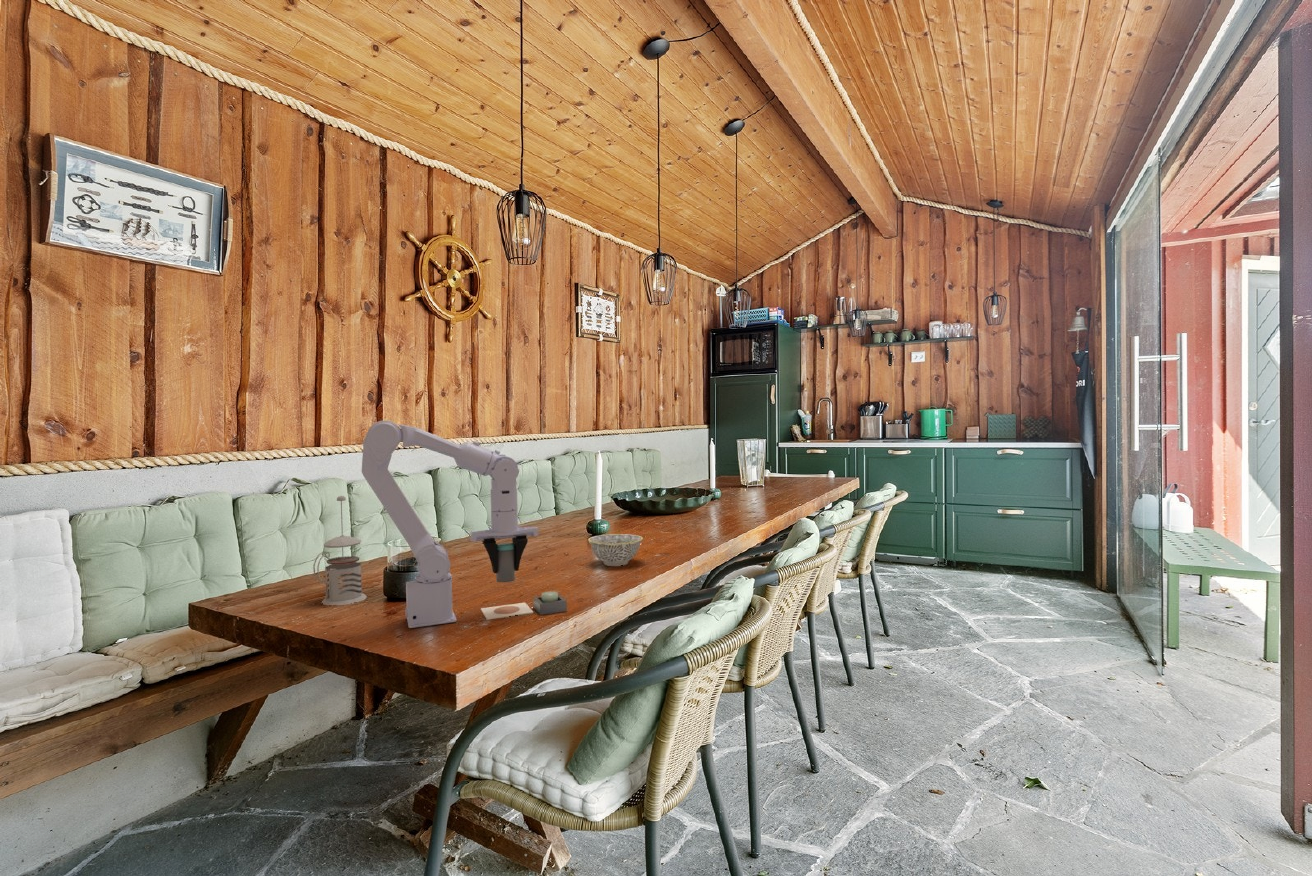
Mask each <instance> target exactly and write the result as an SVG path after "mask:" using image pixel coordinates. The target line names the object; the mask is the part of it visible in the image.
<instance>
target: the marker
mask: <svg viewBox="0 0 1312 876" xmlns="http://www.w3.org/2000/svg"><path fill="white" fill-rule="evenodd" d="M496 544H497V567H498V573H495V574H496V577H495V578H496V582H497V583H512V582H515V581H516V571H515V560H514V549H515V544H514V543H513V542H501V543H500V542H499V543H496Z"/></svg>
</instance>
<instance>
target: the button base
mask: <svg viewBox="0 0 1312 876" xmlns="http://www.w3.org/2000/svg"><path fill="white" fill-rule="evenodd" d="M532 599H533V601H532V602H533V603H532V604H533V606H532V607H533V609H534V610H535V612H537V614H539V616H543V615H551V614H558V613H564V612H565V613H566V612H567V611H568V610H567V607H568V605H567V604H568V603H567V599H566V598H565V597H563V596H562V595H561V594H559V593H558V601H553V602H545V603H542V595H541V596H534V597H533V598H532Z"/></svg>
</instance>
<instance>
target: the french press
mask: <svg viewBox="0 0 1312 876" xmlns="http://www.w3.org/2000/svg"><path fill="white" fill-rule="evenodd" d="M346 500H347V499H346V497H345V496H344V495H338V496H337V497H336V501H337V502H340V518H341V525H343V501H346ZM343 529H344V528H343V527H341V535H340V536H336V537H333V538H331V539H329V540H327V541H326V542H325V543H323V546H324V548H326V549H327V548H328V549H334V548H336V549H337V548H341V551H342V553H341V554H342V556H336V557H332V558H330V555H331V553H330V552H329V551H322V552H320V553H318V555H317V556H316V558H315V560H314V562H313V567H312V568H313V574H314V576H315V579H317V581H319V582H321V583H324V584H325V597H324V599H323V600H322V601H321V604H322V603H323V604H322V605H324V606H329V605H332V606H333V605H337V607H338V606H345V605H351V603H352V604H355V603H354V602H357V603H360V602H362V601H365V600H366V599H367V595H366V594H364V592H363V589H362V585H363V584H362V582H363V581H362V563H361V562H358V561H360V557H359V556H355V555H352V556H351V555H350V556H349V555H347V556H344V548H348V547H353V546H357V545H360V544H361V542H362V540H361V539H359V538H357V537H353V536H350V535H343V534H344V533H343ZM323 553H324V554H323ZM327 554H328V555H327ZM320 555H321V556H320ZM319 557H320V558H319ZM323 557H325V558H327V560H326V564H328V565H326V566H325V568H324V571H325V573H324V574H325V580H324V579H323V578H321V576H320V571H319V570H320V569H319V568H320V567H319V566H320V564H321V563H320V562H321V561H322V559H323ZM318 558H319V559H318ZM328 558H329V559H328ZM317 560H318V563H317ZM316 563H317V568H315V567H316ZM316 569H317V570H316ZM316 571H317V573H316ZM341 587H342V588H341Z"/></svg>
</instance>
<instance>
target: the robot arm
mask: <svg viewBox="0 0 1312 876" xmlns="http://www.w3.org/2000/svg"><path fill="white" fill-rule="evenodd" d="M400 443H402V448H408V447H420V448H424V449H426V450H429V451H433V452H436V453H438V454H441V455H445V456H447V457H450V458H453V459H454V461H455V463H456V464H455V465H457V467H459V468H461V469H465V470H467V471H470V472H472V473H476V474H478V475H481V476H483V477H486V476H490V478H491V479H490V480H491V481H490V483H491V484H490V485H491V489H490V520H491V521H490V522H491V524H490V525H491V529H485V530H479V531H478V530H477V531H471V532H470V533H469V534H470V542H471V543H477V542H482V544H483V546H484V548H485V550H486V552H487V556H488V558H489V560H490V565H491V569H492V572H493V574H496V573H498V567H497V544H498V543H497V540H505V539H512V543H514V544H515V549H514V560H515V572H518V571H519V570H520V564H521V560H522V556H523V553H524V551H525V549H526V546H527V545H528V541H529V539H528V537H539V527H537V526H519V521H518V520H519V519H518V512H519V511H518V508H519V507H518V488H517V483H518V482H517V478H518V476H519V473H520V468H519V466H518V464H517V462H516V461H515V459H514V458H512V457H510V456H507V455H505V454H501V451H499V450H497V449H495V450H491V449H489V448H485V447H483V446H481V445H480V442H478V441H472V442H470V441H465V442H462V443H460V444H458V443H455V442H453V441H451V440H448V439H445V438H442V437H440V436H439V435H436V434H433V433H432V432H431V433H430V432H428V431H427V430H424V429H421V428H418V427H416V426H415V427H414V426H411V425H406V424H402V423H401V424H400V423H398V424H396V423H395V422H394V421H390V420H380V421H377V422H374V423H373V424H371V426H369V428H368V430H367V432H366V434H365V437H364V439H363V441H362V457H361V459H362V460H361V473H362V475H363V477H364V479H365V480H366V483H367V484H368V485H369V486H370V488H371V489H372V491H373V492H374V494H375V496H376V497H377V499H378V501H380V503H381V505H382V506H383V508H384V510H385V511H386V513H387V514H388V515H389V517H390V519H391V520H392V522H393V524H395V526H396V528H397V530H398V531H399V532H400V534H401V535H402V537H403V538H404V541H406V543H407V545H408V546H409V550H411V552H412V555H413V556H414V558H415V560H416V561H417V567H418V574H417V575H416V578H415V580H411V581H406V582H405V595H406V596H405V599H406V602H405V603H406V608H405V610H404V611H405V612H404V613H405V618H406V620H407V621H406V622H407V625H408V629H412V628H413V629H414V628H421V627H428V626H435V625H442V624H449V623H450V624H451V623H455V622H457V617H456V614H455V613H454V610H453V609H454V608H453V576H452V573H451V572H450V569H451V560H450V557H449V553H448V550H446V548H445V547H444V546H443V545H442V544H439V543H438V542H436V541H435V539H434V538H433V536H432V534H431V533H430V532H429V531H428V530H427V528H426V526H425V525H424V523H423V522H422V520H421V519H420V517H419V516H418V514H417V513H416V511H415V509H414V508H413V507H412V505H411V503H410V502H409V500H408V499H407V497H406V496H405V494H404V492H403V491H402V489H401V487H400V486H399V484H398V483H397V482H396V480H395V478H394V476H393V475H392V473H391V472H390V471H389V465H390V463H391V458H392V454H393V453H394V452H395V451H396V449H397V447H399V444H400Z"/></svg>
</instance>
